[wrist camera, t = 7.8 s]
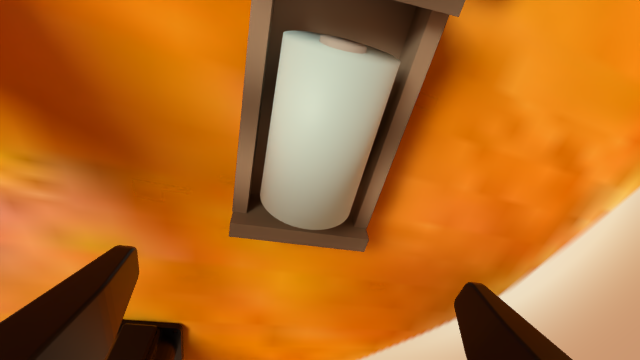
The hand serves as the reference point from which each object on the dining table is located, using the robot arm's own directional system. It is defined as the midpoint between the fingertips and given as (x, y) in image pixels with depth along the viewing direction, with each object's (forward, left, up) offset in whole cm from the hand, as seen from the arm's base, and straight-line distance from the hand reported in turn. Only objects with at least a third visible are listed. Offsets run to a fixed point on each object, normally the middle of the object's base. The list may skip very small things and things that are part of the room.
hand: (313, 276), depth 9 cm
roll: (+1, -1, -11) cm, 11 cm away
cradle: (+1, -1, -12) cm, 12 cm away
